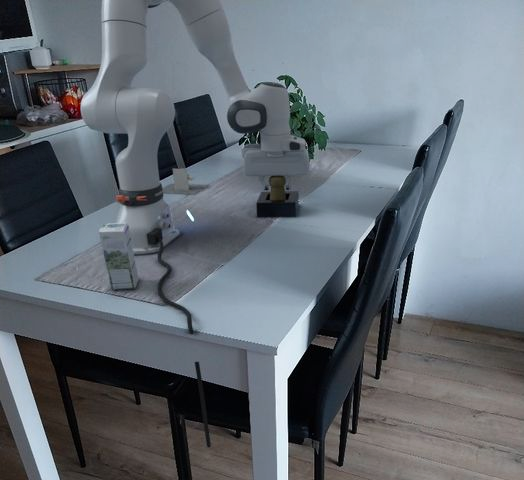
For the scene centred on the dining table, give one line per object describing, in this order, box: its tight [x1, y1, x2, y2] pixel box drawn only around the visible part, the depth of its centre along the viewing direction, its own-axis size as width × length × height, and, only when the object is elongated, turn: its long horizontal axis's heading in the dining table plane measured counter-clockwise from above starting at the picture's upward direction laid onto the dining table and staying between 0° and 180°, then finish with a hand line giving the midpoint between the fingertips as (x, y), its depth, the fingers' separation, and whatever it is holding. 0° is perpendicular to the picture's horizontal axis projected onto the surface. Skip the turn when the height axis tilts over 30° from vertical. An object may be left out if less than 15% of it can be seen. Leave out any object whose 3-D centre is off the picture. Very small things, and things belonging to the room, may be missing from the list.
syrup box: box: [98, 222, 139, 291], centre depth 125 cm, size 6×6×14 cm
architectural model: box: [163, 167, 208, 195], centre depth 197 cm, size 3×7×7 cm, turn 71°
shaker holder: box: [255, 190, 300, 218], centre depth 170 cm, size 12×12×4 cm
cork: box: [268, 176, 287, 200], centre depth 168 cm, size 6×6×11 cm
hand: (277, 189), depth 168 cm, fingers open, 5 cm apart
